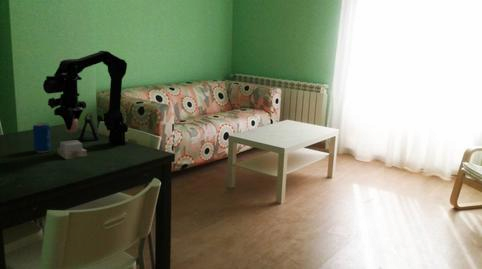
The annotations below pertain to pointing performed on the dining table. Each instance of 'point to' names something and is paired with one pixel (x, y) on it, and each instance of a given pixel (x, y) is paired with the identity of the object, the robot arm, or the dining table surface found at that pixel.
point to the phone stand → (93, 128)
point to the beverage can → (41, 137)
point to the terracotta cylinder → (73, 126)
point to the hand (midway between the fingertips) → (71, 128)
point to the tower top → (71, 146)
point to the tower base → (72, 153)
